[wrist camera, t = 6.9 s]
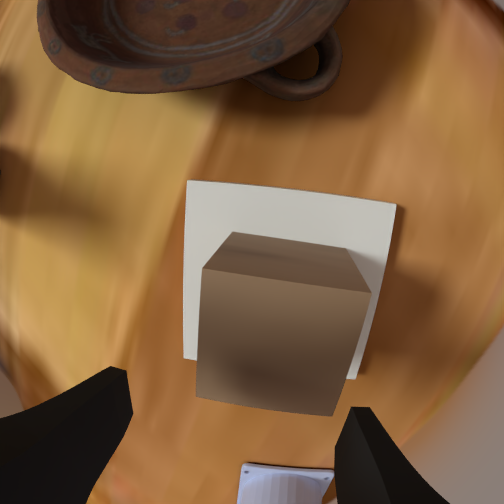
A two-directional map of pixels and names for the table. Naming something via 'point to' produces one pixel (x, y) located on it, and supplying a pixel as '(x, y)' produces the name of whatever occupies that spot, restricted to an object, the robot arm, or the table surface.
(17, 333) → the table surface
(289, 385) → the walnut cube
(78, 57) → the dish
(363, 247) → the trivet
